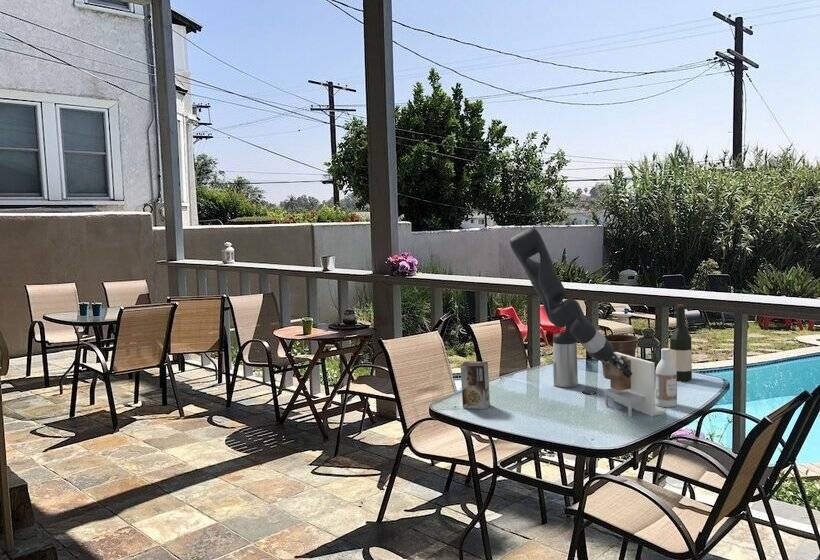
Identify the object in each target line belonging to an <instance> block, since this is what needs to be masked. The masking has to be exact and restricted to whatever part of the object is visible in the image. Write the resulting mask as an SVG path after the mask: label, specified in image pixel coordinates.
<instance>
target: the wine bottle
mask: <svg viewBox="0 0 820 560" xmlns="http://www.w3.org/2000/svg"><path fill="white" fill-rule="evenodd" d="M685 307H686V306H684V304H676V307H675V311H676V312H675V318H676V320H675V323H676V324H675V325H676V327H675V329H674V330H673V332H672V334H671V335H670V339H669V342H670V344H669V346H670V347H669V349H670V360H671V361H672V362H673V364H674V366H675V368H676V372H677V381H682V382H681V383H687V382H692V380H693V364H692V363H693V360H692V359H693V358H692V357H693V356H692V355H693V351H692V347H693V345H692V335H690V333H689V331H688V330H687V328H686V308H685Z"/></svg>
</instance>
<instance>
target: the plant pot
mask: <svg viewBox="0 0 820 560" xmlns="http://www.w3.org/2000/svg"><path fill="white" fill-rule="evenodd" d="M603 336H604V337H605V338H606V339H607V340H608V341H609V342H610V343H611V344H612V346H613V351H612V352H618V353H622V354H625V355H629V356H632V357H636V351H637V347H638V340H639V337H638V336H636V335H631V334H607V335H606V334H605V335H604V334H603ZM601 367H602V368H601V369H602V376H603V377H604V378H606V379H610V367H609V366H605V364H603V363H602V362H601Z"/></svg>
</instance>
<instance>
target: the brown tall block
mask: <svg viewBox="0 0 820 560" xmlns="http://www.w3.org/2000/svg"><path fill="white" fill-rule="evenodd" d="M621 357H623V358H624V360H625V361H626V362H627V364H628V365H629V366H630V367H629V368H628V369H629V370H630V371H631V360H629V359H627V356H624V355H620V358H621ZM615 365H617V363H616V364H615ZM609 379H610V381H609V382H610V385H609V386H610V388H613V389H616V390H619V391H620V390H626V389H631V377H630V378H627V377H626V376H625V375H624V374H623V373H622V372H621V371H620V370H619V369H618V368H614V367H613V366H612V365H611V367H610V378H609Z"/></svg>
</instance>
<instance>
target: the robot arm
mask: <svg viewBox="0 0 820 560" xmlns="http://www.w3.org/2000/svg"><path fill="white" fill-rule="evenodd" d="M509 246H510V248H511V250H512V253H513V254H514V255H515V257H516V259H517V261H519V263H520V265H521V266H522V268H523V269H524V271H525V273H526V275H527V277H528V280H529V281H530V284H531V285H532V287H533V289H534V290H535V292H536V293H537V297H539V300H540V302H541V303H542V305H543V308H544V312H545V314H546V317H547V318H548V319H547V320H549V322H550V323H551V324H552V325H554V326H555V327H557V328H558V329H563V328H564V330H563V331H561V332H558V333H555V334H553V336H552V347H553V348H552V349H553V350H552V351H553V363H552V368H553V370H552V373H553V375H552V376H553V386H554V387H560V388H572V387H576V386H578V385H579V376H578V375H579V371H578V342H579V344H580V345H581V346H582V347H583V349H585V351H586V352H588V354H589V355H590V356H591V357H592V358H593V359H595V360H596V361H600V362H601V364H602V363H603V364H605V366H609V367H611V365H612V366H613V367H614V368H618V369H619V370H620V371H621V372H622V373H623V374H624V375H625V376H626V377H627V378H630V377H631V375H632V372H631V371H630V370H629V369H628V368H629V367H630V366H629V365H628V364H627V362H626V361H625V360H624V358H623V357H621V358H619V357H618V356H617V354H615V353H614V352H612V351H613V346H612V344H611V343H610V342H609V341H608V340H607V339H606V338H605V337H604V334H602V332H600V331H599V330H598V329H597V328H596V327H595V326H594V325H593V324H592V323H591V322H590V321H589V319H587V317H586V316H585V314H584V312H583V310H582V307H581V305H580V303H579V302H578V300H576V299H574V298H570V297H569V298H567V299H565V297H566V296H567V291H566V288H565V286H564V285H563V283H562V281H561V279H560V278H559V276H558V273H557V272H556V268H555V266H554V263H553V261H552V259H551V258H552V257H551V255H550V253H549V251H548V248H547V246H546V244H545V242H544V240H543V237H542V236H541V233H540V232H539V231H538V229H536V228H535V227H529V228H526V229H525V230H523V231H521V232H520V233H518V234H516V235H514V236H512V237H511V238H510V239H509ZM536 254H539V262H538V261H536V260H533V259H532V258H531V257H533V256H535V255H536ZM564 299H565V300H564ZM563 300H564V301H563ZM616 363H617V365H615V364H616Z"/></svg>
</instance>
